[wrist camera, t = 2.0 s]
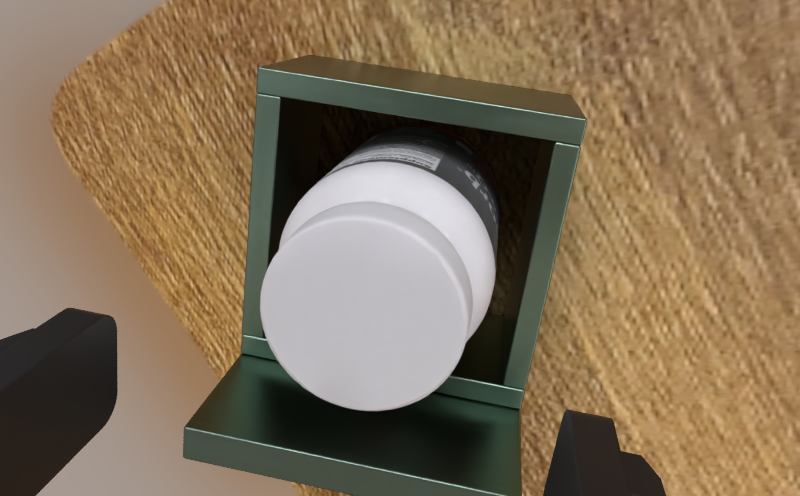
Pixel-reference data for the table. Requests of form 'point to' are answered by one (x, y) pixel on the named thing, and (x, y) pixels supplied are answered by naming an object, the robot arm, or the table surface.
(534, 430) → the table surface
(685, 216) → the table surface
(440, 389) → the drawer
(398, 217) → the pill bottle
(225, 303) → the table surface
